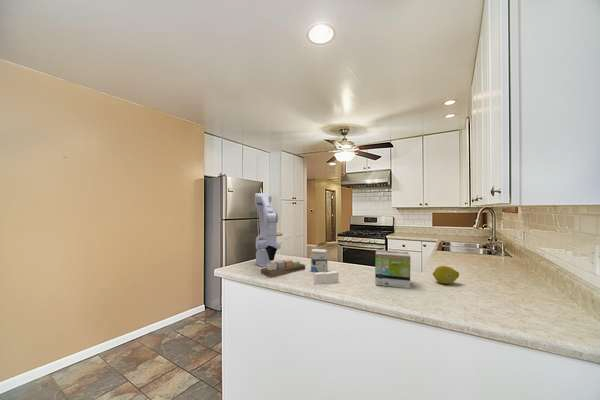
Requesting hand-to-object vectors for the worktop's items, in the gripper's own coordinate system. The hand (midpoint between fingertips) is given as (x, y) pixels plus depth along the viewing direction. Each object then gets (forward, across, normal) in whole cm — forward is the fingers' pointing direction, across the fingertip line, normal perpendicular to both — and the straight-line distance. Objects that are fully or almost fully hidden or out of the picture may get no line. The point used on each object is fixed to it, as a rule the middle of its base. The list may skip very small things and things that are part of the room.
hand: (271, 260), depth 135 cm
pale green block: (+6, 0, -16) cm, 17 cm away
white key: (+5, 0, 0) cm, 5 cm away
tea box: (+8, -50, -35) cm, 61 cm away
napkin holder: (+8, -28, -12) cm, 32 cm away
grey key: (+5, 0, -5) cm, 7 cm away
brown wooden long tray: (+7, 0, -8) cm, 11 cm away
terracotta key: (+5, 0, -10) cm, 11 cm away
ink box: (+8, -13, -23) cm, 27 cm away
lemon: (+8, -66, -54) cm, 85 cm away
